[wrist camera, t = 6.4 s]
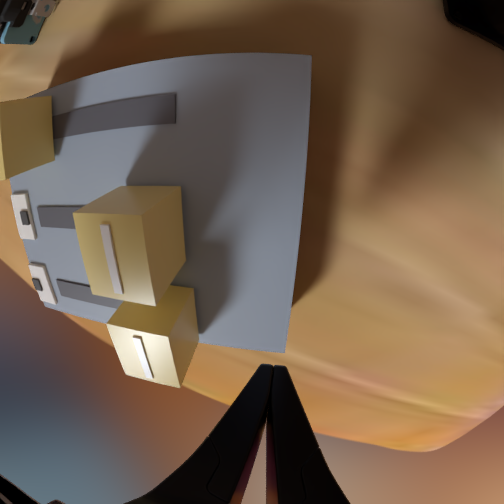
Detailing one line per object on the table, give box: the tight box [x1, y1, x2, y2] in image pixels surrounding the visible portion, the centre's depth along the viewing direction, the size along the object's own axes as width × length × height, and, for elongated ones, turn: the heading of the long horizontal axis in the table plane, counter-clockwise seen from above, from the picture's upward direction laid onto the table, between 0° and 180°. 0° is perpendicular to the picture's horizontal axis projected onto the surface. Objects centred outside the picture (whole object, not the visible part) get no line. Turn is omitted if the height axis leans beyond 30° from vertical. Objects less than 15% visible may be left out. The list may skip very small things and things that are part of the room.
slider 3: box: [106, 285, 199, 388], centre depth 11 cm, size 2×3×3 cm
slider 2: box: [73, 186, 186, 306], centre depth 9 cm, size 2×3×3 cm
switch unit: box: [10, 53, 312, 353], centre depth 12 cm, size 14×12×3 cm
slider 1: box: [0, 96, 55, 181], centre depth 7 cm, size 2×3×3 cm
